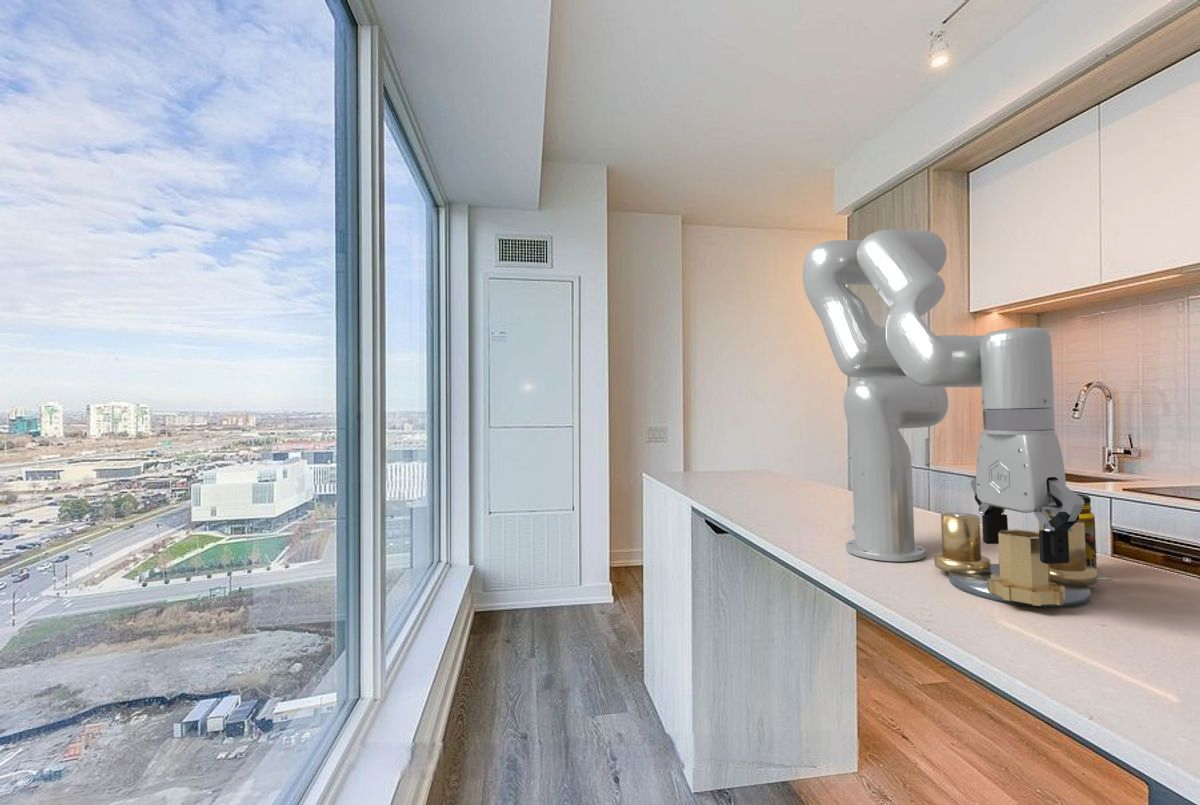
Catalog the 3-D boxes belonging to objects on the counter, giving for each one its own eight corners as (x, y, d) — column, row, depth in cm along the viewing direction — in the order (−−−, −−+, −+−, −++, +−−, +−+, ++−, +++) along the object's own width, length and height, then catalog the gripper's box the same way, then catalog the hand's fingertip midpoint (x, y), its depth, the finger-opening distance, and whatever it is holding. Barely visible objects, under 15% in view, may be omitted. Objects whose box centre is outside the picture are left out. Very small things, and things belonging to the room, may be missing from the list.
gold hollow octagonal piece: (975, 586, 76) (973, 528, 76) (1031, 584, 76) (1029, 526, 76) (1019, 606, 68) (1016, 541, 68) (1081, 604, 68) (1078, 539, 68)
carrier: (919, 569, 88) (917, 511, 88) (1033, 565, 88) (1031, 507, 88) (1002, 610, 70) (999, 536, 70) (1145, 604, 70) (1142, 531, 70)
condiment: (1112, 580, 80) (1108, 498, 80) (1046, 578, 82) (1043, 498, 82) (1079, 566, 87) (1076, 490, 87) (1019, 564, 89) (1016, 490, 89)
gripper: (947, 422, 81) (951, 538, 81) (1044, 425, 63) (1050, 573, 63) (997, 420, 81) (1001, 536, 81) (1107, 423, 64) (1114, 570, 63)
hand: (1023, 552), depth 72 cm, fingers open, 9 cm apart
